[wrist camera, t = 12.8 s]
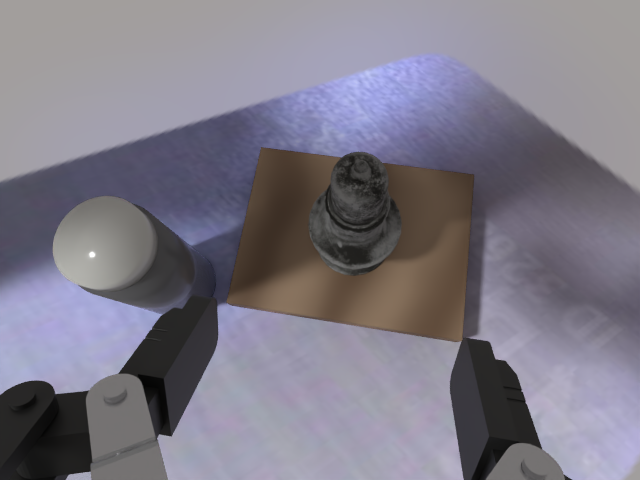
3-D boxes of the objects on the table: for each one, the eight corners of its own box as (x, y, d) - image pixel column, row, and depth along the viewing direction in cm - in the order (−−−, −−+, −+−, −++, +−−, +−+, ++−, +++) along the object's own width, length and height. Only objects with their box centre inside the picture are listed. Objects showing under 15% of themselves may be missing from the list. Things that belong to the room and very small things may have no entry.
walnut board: (231, 305, 31) (226, 302, 30) (264, 156, 34) (261, 147, 33) (456, 342, 30) (462, 340, 28) (468, 182, 33) (474, 174, 32)
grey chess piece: (365, 186, 32) (380, 83, 20) (411, 252, 30) (455, 181, 19) (296, 226, 31) (271, 144, 20) (339, 296, 30) (340, 251, 18)
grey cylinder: (140, 311, 31) (33, 282, 20) (158, 246, 33) (68, 185, 22) (206, 322, 31) (134, 298, 20) (222, 256, 32) (162, 199, 21)
